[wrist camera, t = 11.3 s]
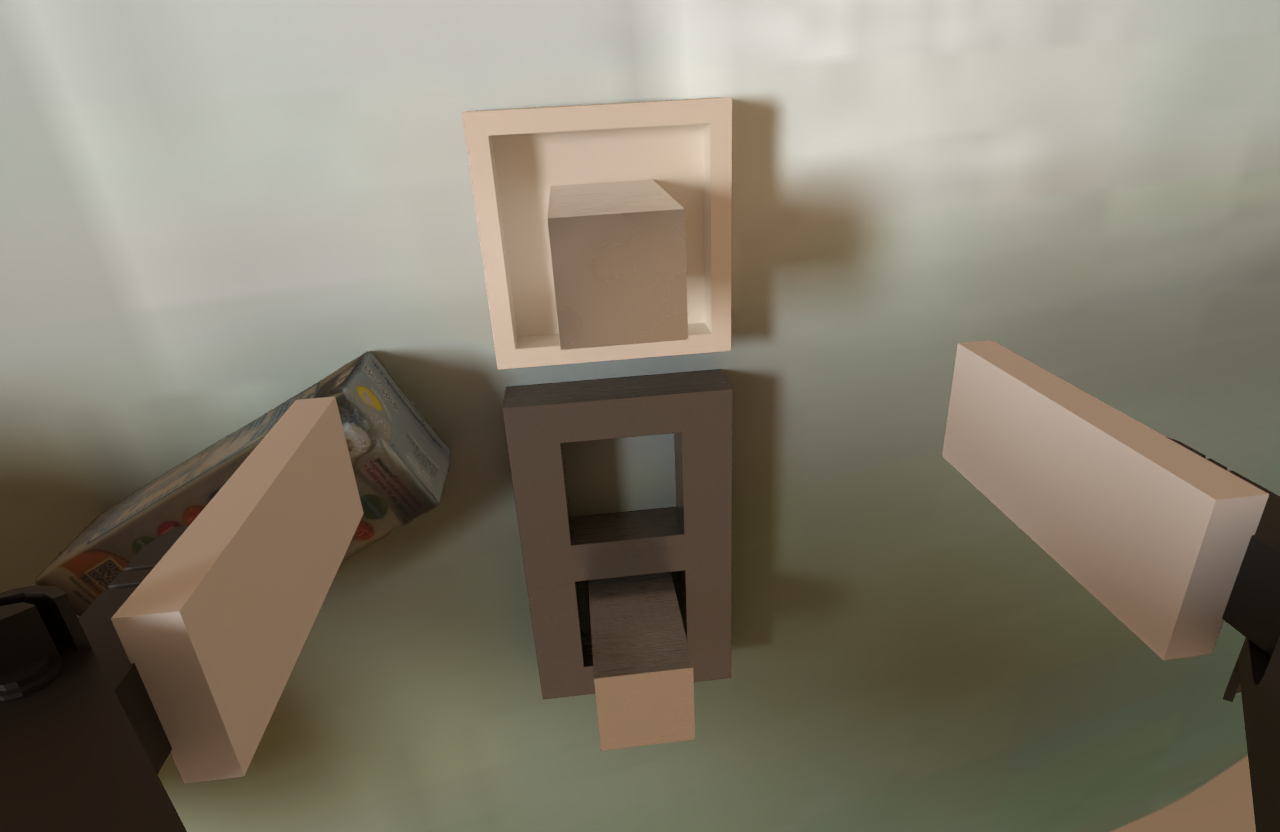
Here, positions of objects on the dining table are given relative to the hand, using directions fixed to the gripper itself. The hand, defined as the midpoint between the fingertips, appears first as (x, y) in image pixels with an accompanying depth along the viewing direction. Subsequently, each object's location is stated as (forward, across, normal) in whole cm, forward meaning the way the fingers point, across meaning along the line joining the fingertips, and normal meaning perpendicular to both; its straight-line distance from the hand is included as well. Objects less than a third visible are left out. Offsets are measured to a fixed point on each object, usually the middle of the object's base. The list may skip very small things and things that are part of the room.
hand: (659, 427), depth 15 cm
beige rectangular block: (+24, 0, -22) cm, 33 cm away
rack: (+24, 0, -18) cm, 30 cm away
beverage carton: (+24, -19, -13) cm, 33 cm away
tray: (+24, 0, 0) cm, 24 cm away
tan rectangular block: (+23, 0, 0) cm, 23 cm away
